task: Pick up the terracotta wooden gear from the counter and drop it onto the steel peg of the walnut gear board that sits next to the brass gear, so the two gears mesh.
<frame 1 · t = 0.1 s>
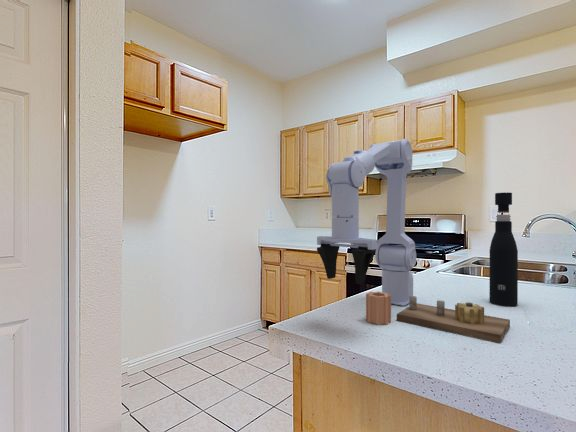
hand: (345, 280, 70), 10 cm above the counter, tool pointing down, fingers open, 7 cm apart
gear board: (451, 323, 72), on the counter
gear: (378, 320, 74), on the counter
black bottle: (503, 304, 88), on the counter
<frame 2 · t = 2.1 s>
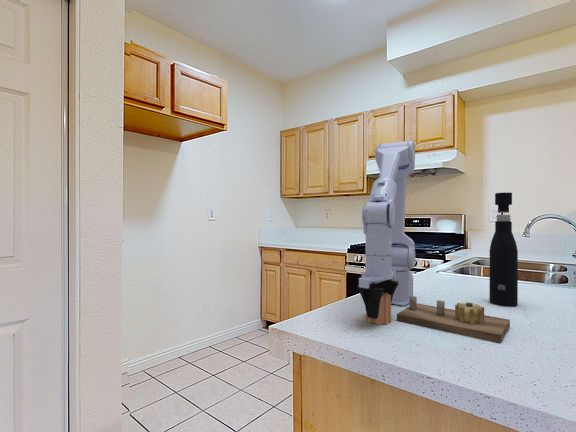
hand: (378, 314, 74), 1 cm above the counter, tool pointing down, fingers closed on gear, 5 cm apart
gear: (378, 320, 74), on the counter, touching gripper
everything else where it was.
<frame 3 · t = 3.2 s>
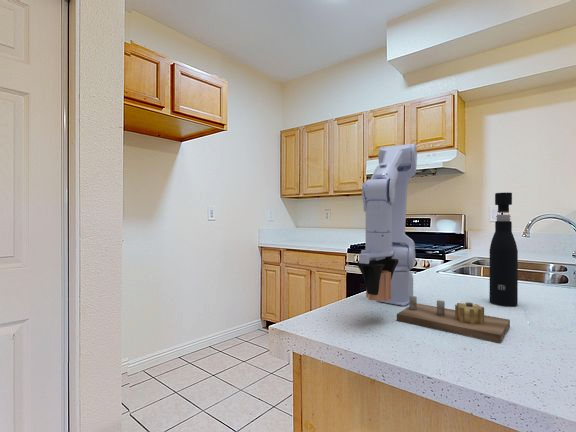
hand: (378, 291, 74), 7 cm above the counter, tool pointing down, fingers closed on gear, 5 cm apart
gear: (378, 298, 74), point 5 cm above the counter, touching gripper
everything else where it was.
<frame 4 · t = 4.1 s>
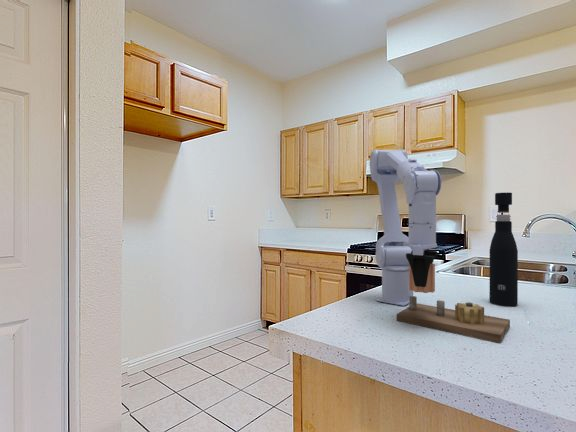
hand: (422, 284, 74), 8 cm above the counter, tool pointing down, fingers closed on gear, 5 cm apart
gear: (421, 290, 74), point 7 cm above the counter, touching gripper
everything else where it was.
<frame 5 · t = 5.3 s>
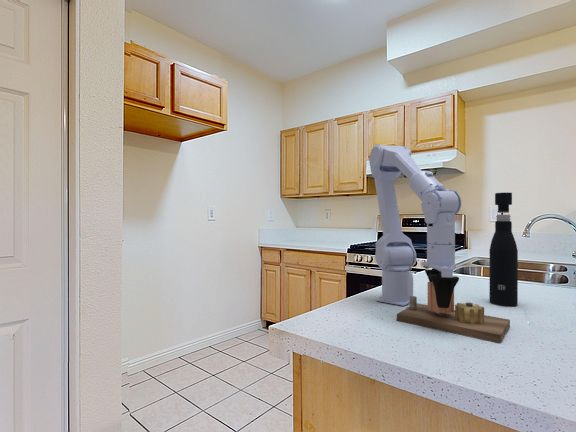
hand: (440, 303, 74), 4 cm above the counter, tool pointing down, fingers closed on gear, 5 cm apart
gear: (440, 310, 74), point 3 cm above the counter, touching gripper
everything else where it was.
when the fingers open (4 cm above the counter, at t = 6.2 s): gear stays where it is, resting on gear board.
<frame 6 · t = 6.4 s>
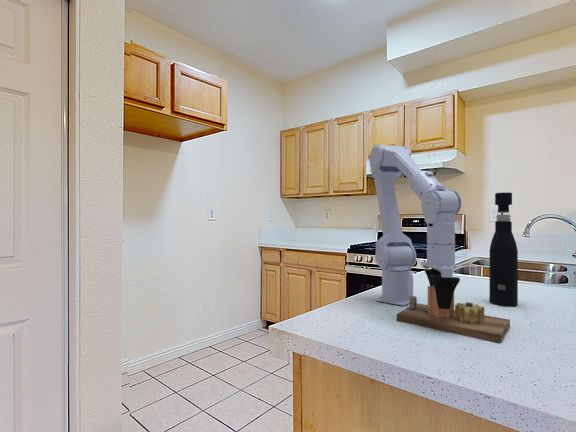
hand: (440, 303, 74), 4 cm above the counter, tool pointing down, fingers open, 7 cm apart
gear: (440, 314, 74), point 1 cm above the counter, touching gear board
everything else where it was.
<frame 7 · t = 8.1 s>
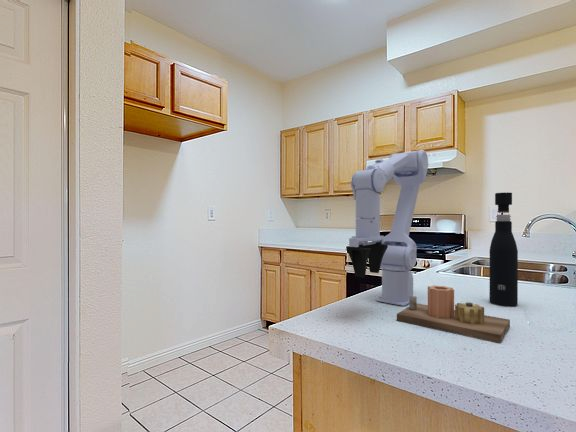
hand: (367, 274, 79), 9 cm above the counter, tool pointing down, fingers open, 7 cm apart
nothing on the counter moved.
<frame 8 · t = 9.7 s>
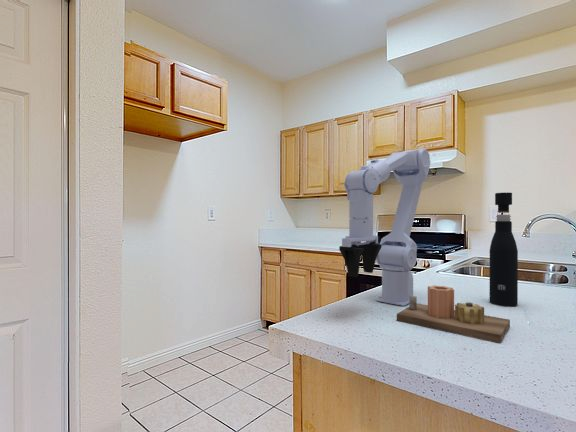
hand: (361, 274, 80), 9 cm above the counter, tool pointing down, fingers open, 7 cm apart
nothing on the counter moved.
at the end: gear 0.0 cm from the target spot on the gear board, point 1.5 cm above the gear board's base; gear tilted 0°; the gripper is holding nothing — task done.
